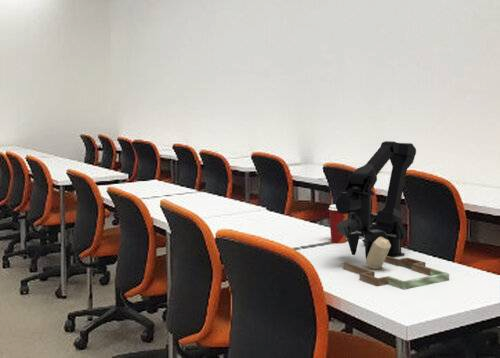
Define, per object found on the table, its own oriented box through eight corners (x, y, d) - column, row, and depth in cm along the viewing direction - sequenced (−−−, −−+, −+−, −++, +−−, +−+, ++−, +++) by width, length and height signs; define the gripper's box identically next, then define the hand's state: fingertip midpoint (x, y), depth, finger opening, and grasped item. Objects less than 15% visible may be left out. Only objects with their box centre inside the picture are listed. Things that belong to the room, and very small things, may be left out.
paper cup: (350, 243, 244) (350, 207, 242) (329, 244, 244) (329, 207, 242) (347, 239, 252) (347, 203, 250) (327, 239, 252) (327, 203, 250)
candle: (383, 262, 210) (393, 238, 205) (380, 271, 205) (390, 247, 200) (367, 256, 211) (377, 231, 206) (363, 265, 206) (373, 240, 201)
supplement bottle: (373, 243, 244) (373, 211, 243) (386, 246, 239) (387, 214, 237) (360, 245, 240) (360, 213, 239) (373, 249, 235) (373, 216, 233)
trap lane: (394, 259, 218) (394, 253, 218) (458, 278, 195) (458, 271, 194) (332, 270, 205) (332, 264, 205) (393, 291, 182) (393, 284, 181)
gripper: (324, 207, 215) (323, 253, 217) (360, 217, 199) (359, 266, 201) (351, 205, 221) (350, 250, 223) (388, 213, 205) (386, 262, 207)
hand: (360, 257), depth 213 cm, fingers open, 7 cm apart
